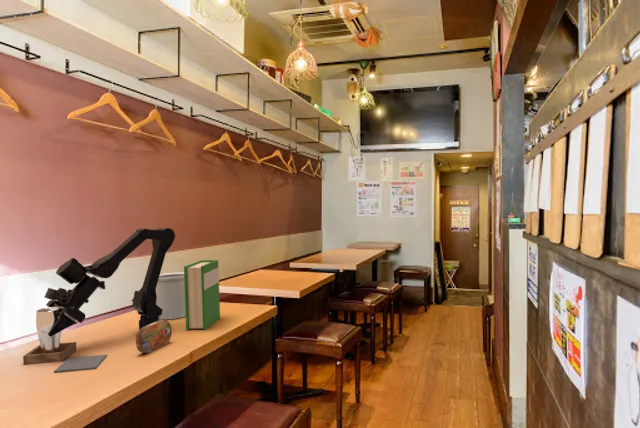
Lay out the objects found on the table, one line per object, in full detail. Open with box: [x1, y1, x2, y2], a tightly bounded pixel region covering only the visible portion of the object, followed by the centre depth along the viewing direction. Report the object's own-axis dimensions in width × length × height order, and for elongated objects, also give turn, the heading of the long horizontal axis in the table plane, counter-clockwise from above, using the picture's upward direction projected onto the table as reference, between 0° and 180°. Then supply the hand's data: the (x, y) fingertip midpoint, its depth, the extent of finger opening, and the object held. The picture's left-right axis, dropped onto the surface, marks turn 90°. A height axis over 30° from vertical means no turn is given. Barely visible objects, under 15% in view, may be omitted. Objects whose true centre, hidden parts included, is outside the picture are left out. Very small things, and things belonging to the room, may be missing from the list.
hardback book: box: [183, 259, 221, 332], centre depth 169 cm, size 18×7×24 cm, turn 176°
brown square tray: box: [22, 341, 77, 366], centre depth 135 cm, size 11×11×2 cm
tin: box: [135, 319, 173, 354], centre depth 141 cm, size 15×3×8 cm, turn 163°
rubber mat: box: [53, 354, 108, 374], centre depth 128 cm, size 11×11×1 cm
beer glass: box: [35, 306, 63, 354], centre depth 135 cm, size 7×7×15 cm
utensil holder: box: [156, 271, 186, 321], centre depth 184 cm, size 15×15×18 cm
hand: (45, 333), depth 134 cm, fingers closed on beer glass, 7 cm apart
